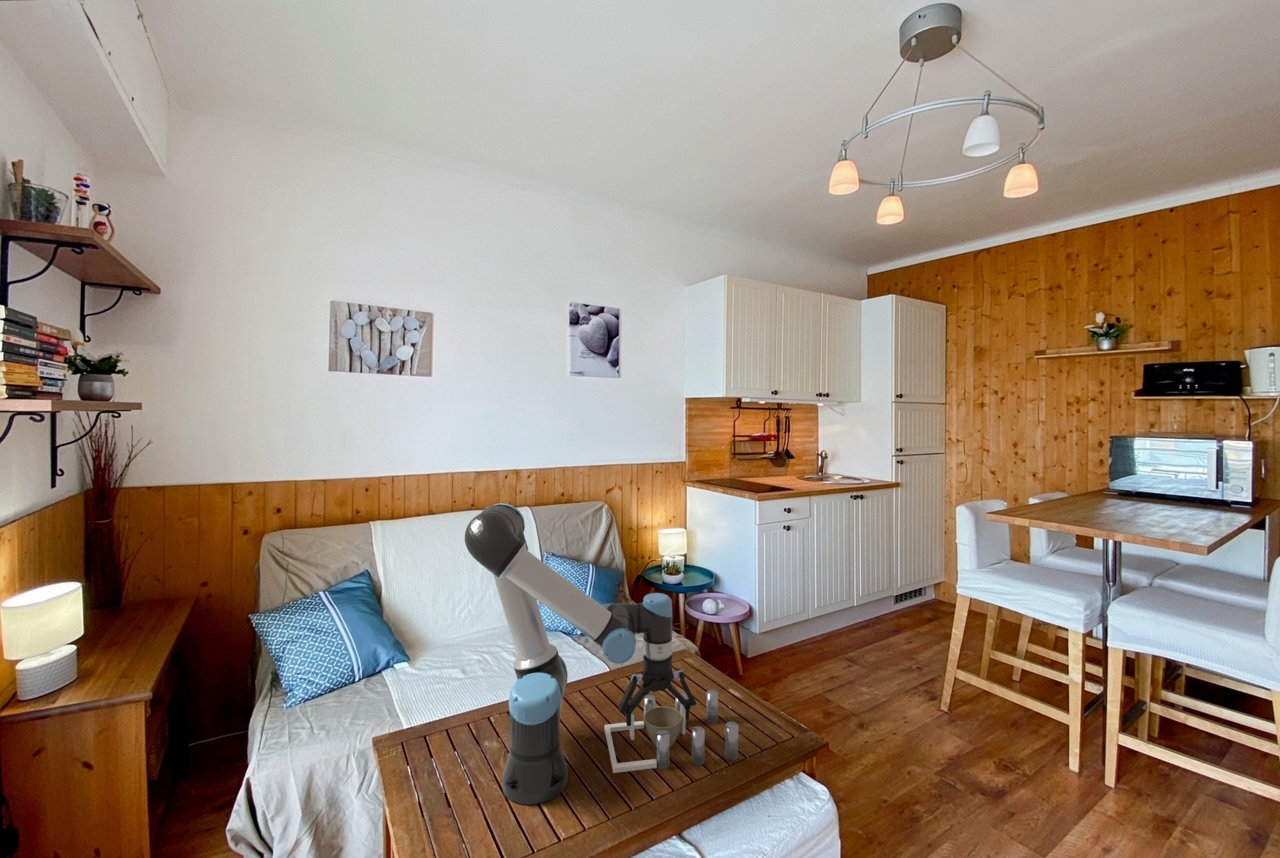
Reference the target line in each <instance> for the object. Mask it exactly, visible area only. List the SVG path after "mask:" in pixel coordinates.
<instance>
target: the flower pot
mask: <svg viewBox="0 0 1280 858" xmlns="http://www.w3.org/2000/svg"><path fill="white" fill-rule="evenodd" d="M644 721H645V725H646V728H645V729H646V731H647V734H648V736H649V738H650V740H651V742H652V743H653V745H654V746H655V747H656V748H657V732H658V731H660V730H666V731H668V732H669V733H670V748H672V746H673V745H674V743H675V742H676V740H677V739H678V736H679V734H680V732H681V729H680V728H681V723H682V715H681V713H680V712H679V711H678V710H676V709H675V707H671V706H662V705H661V706H655V708H652V709H650V710H648V711H647V712H646V713H645V715H644V714H643V722H644Z"/></svg>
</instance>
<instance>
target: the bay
mask: <svg viewBox="0 0 1280 858" xmlns="http://www.w3.org/2000/svg"><path fill="white" fill-rule="evenodd" d="M642 729H645V727H644V720H641V721H634V730H642ZM623 731H630V726H627V724H626V722H619V723H610V724H608V723H607V724H604V733H605V738H606V739H605V740H606V743H607V744H606V745H607V748H608V753H609V759H610V764H611V769H612V773H613V774H616V773H623V772H624V773H625V772H633V771H640V770H641V771H643V770H649V769H658V768H657V762H656V759H657V758H652V759H644V760H643V759H642V760H633V761H627V762H618V760H617V757H616V752H615V747H614V744H613V737H612V733H613V732H614V733H615V732H623Z"/></svg>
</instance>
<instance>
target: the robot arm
mask: <svg viewBox="0 0 1280 858" xmlns="http://www.w3.org/2000/svg"><path fill="white" fill-rule="evenodd" d="M525 524H526V523H525V518H524V516H523V514H522V512H521V511H520V510H519V509H518V508H517V507H515V506H513V505H511V504H508V503H496V504H492V505H490V506H487V507H485V508H484V509H483V510H482V511H481V512H480V513H479V514H477V515H476V516H474V517H473V518H472V519H471V520H470V522H469V523H468V524H467V526H466V528H465V531H464V532H465V533H464V543H465V547H466V549H467V551H468V553H469V554H470V556H472V558H473V559H474V560H475V561H476V562H478V563H479V564H480V565H482V566H483V567H484V568H485V569H486V570H488V571H489V572H490V573H492V575H493V579H494V582H495V584H496V588H497V592H498V596H499V598H500V603H501V606H502V610H503V613H504V616H505V620H506V623H507V626H508V631H509V633H510V637H511V639H512V643H513V646H514V650H515V651H514V652H515V655H516V657H515V659H514V661H513V664H512V665H513V669H514V674H515V676H516V679H517V680H516V681H515V682H514V684H513V685H512V687H511V688H510V692H509V697H508V710H509V754H508V756H507V759H506V762H505V763H506V764H505V766H504V769H503V772H502V775H501V776H502V777H501V778H502V780H501V781H502V782H501V783H502V785H501V787H502V789H501V790H502V792H503V794H504V796H505V798H506V799H507V798H508V799H509V800H510V801H512V802H514V803H517V804H519V805H538V804H542V803H545V802H548V801H550V800H552V799H554V798H556V797H557V796H558V795H560V794H561V793H562V791H564V789H565V788H566V787H567V784H568V766H567V763H566V760H565V757H564V754H563V750H562V748H561V711H562V706H563V701H564V695H565V692H566V687H567V684H568V678H569V675H568V669H567V665H566V662H565V660H564V659H563V657H562V656H560V654H559V651H558V647H556V645H554V644H552V643H550V642H549V638H548V634H547V631H546V628H545V623H544V620H543V616H542V613H541V611H540V607H539V603H540V604H542V605H544V606H545V607H546V608H547V609H549V610H550V611H552V612H553V613H555V614H556V615H557V616H558V617H559V618H561V619H562V620H564V621H565V622H566V623H568V624H569V625H570V626H572V627H574V628H575V629H576V630H577V631H579V632H580V633H582V634H583V635H585V636H586V637H587V638H588V639H590V640H591V641H593V642H594V643H595V644H597V645H598V646H599V647H601V649H602V652H603V654H604V656H605V658H606V659H607V660H608V662H610V663H613V664H615V665H616V664H618V665H621V664H624V663H627V662H628V661H629V660H631V658H632V657H633V656H634V654H635V651H636V643H637V638H636V635H641V634H643V636H642V637H643V643H642V644H643V652H642V653H643V660H642V661H643V665H642V666H643V667H642V668H643V669H642V670H643V671H642V674H636V672H632V673H631V674H630V681H629V683H628V685H627V688H626V689H625V692H623V693H624V694H623V696H622V697H621V700H620V702H619V705H618V709H619V712H620V714H625V723H626V724H627V726H630V730H629V736H630V740H631V741H634V740H635V729H634V722H635V713H634V711H635V710H636V709H637V707H638V705H639V704H640V703H641V702H642V701H643V700H644V697H645V696H646V695H649V693H650V692H653V693H654V692H664V691H666V690H668V691H669V692H670V693H671V694H672V695H673V696H674V698H675V697H676V698H677V699H678V700H679V702H680V703H681V704H680V713H681V715H682V723H681V728H680V732H681V734H682V735H686V728H687V727H686V725H687V723H686V720H687V721H688V720H689V719H690V710H691V707H695V706H696V705H697V701H696V700H695V697H694V695H693V694H692V691H691V690H690V688H689V686H688V684H687V683H686V679H685V673H684V671H683V669H682V668H677V669H676V670H675V671H673V656H672V655H673V617H674V616H673V615H674V614H673V605H672V604H673V602H672V601H673V600H672V598H671V597H670V596H669V595H667V594H665V593H662V592H661V593H660V592H652V593H648V594H646V595H645V596H644V597H643V601H642V602H639V603H637V602H636V603H626V602H625V603H623V602H622V603H616V602H615V603H614V602H610V603H602V604H600V603H599V602H597V601H596V600H595V599H593V598H592V597H591V596H589V595H588V594H587V593H586V592H585V591H582V590H581V589H580V588H578V587H577V586H576V585H574V583H572V582H570V581H569V580H568V579H567V578H565V577H563V576H562V575H561V574H560V573H558V572H557V571H555V570H554V569H553V568H552V567H550V566H549V565H547V564H546V563H545V562H543V561H542V560H541V559H539V558H538V557H536V556H535V555H534V554H533V553H531V552H530V551H529V547H528V543H527V540H526V537H525V529H526V527H525ZM538 602H539V603H538ZM674 679H676V680H677V681H679V682H680V684H681V686H682V688H683V690H684V692H685V693H686V694H687V700H686V699H685V698H684V697H683V696H682V695H681V693H680V692H681V691H679V690H678V689H677V688H676V687H675V685H674V684H672V681H673V680H674ZM641 681H642V682H643V683H642V684H641V687H640V688H639V689H638V690H637V692H635V690H636V689H637V686H638V685H639V683H640V682H641ZM634 693H635V695H634V696H633V694H634Z"/></svg>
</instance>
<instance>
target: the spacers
mask: <svg viewBox="0 0 1280 858" xmlns="http://www.w3.org/2000/svg"><path fill="white" fill-rule="evenodd" d="M679 692H680V693H681V695H682V696H683V697H684V698H685V699H686V700H688V696H687V694H686V692H685V691H679ZM674 698H675V699H674V705H675V707H674V709H676V710H678V711H679V712H680V704H681V703H680V702H679V700H678V699H677V698H676V697H675V696H674ZM655 707H656V696H655V695H653V694H647V695H646V696H645V697H644V698H643V716H644V715H645V713H646V712H647V711H648V710H650V709H652V708H655ZM687 721H688V720H686V724H687V723H688V722H687ZM718 721H719V692H718V691H717V690H716V689H709V690H707V691H706V722H707V723H709V724H712V725H713V724H716V723H718ZM643 722H644V729H646V725H645V721H644V720H643ZM705 733H706V729H705V728H704V727H702V726H699V725H697V726H694V727H692V728H691V763H692V764H693V765H695V766H703V765H704V764H705V755H706V754H705V747H706V746H705V745H706V744H705V742H706V741H705V736H706V734H705ZM724 733H725V736H724V737H725V740H724V742H725V749H724V750H725V751H724V753H725V754H724V756H725V758H726V759H727V760H729V761H735V760H737V759H738V758H739V724H738V723H737V722H735V721H728V722H726V723H725V732H724ZM670 748H671V747H670V733H669V732H668V731H666V730H660V731H658V732H657V747H656V758H655V759H656V762H657V768H656V769H659V770H661V771H664V770H667V769H669V768H670V751H671V750H670Z"/></svg>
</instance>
